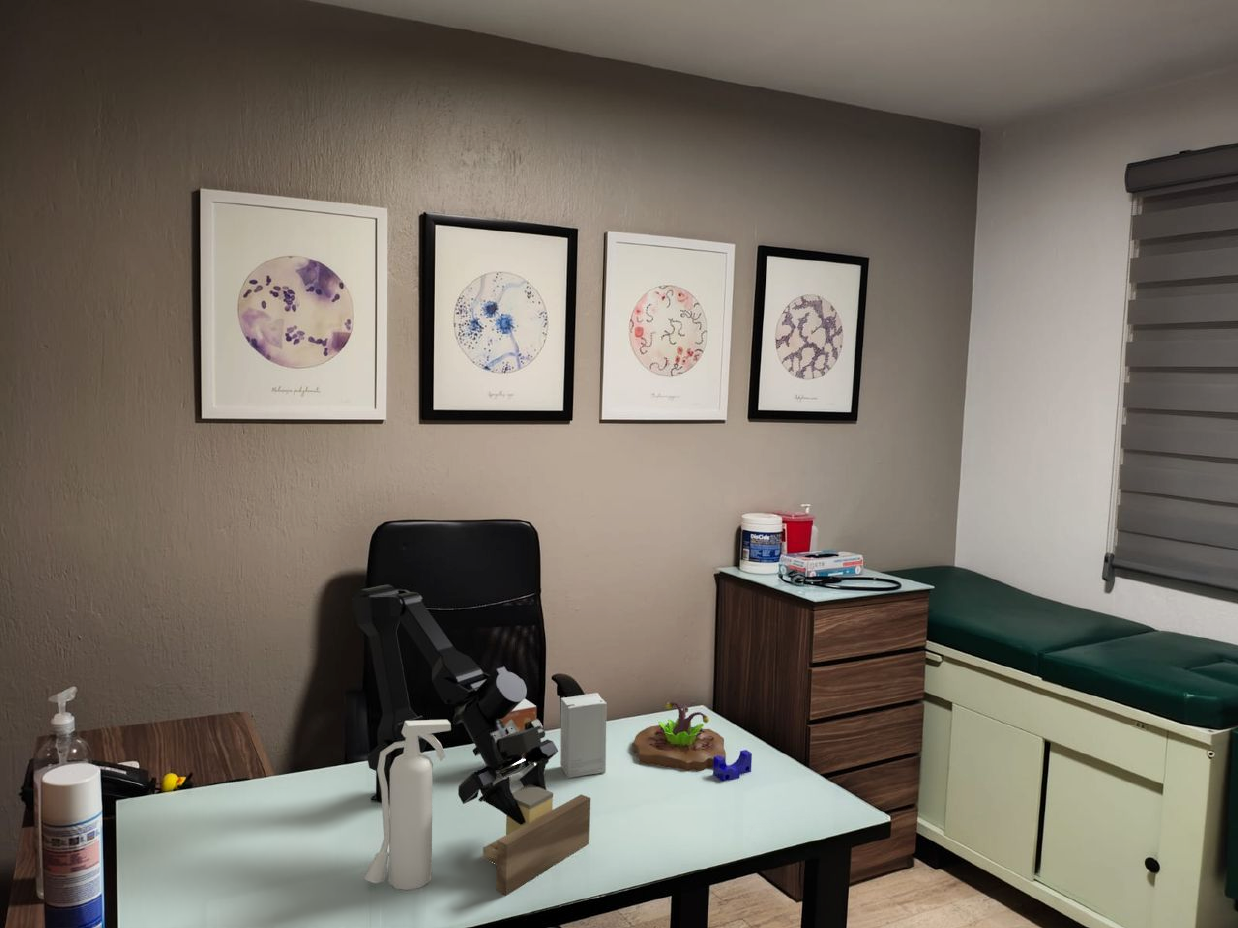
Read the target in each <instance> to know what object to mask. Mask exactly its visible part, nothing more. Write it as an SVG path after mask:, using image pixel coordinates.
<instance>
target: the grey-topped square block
mask: <svg viewBox="0 0 1238 928" xmlns="http://www.w3.org/2000/svg"><path fill="white" fill-rule="evenodd" d="M511 792H512V791H511ZM512 794H513V796H514V798H515V800H516V802H517V804H518V806H519V807H520V809H521V811H522V814H523V816H524V819H525V823H524V824H522V825H520V824H518V823H517V822H516V821H514V820H513V819H511V818H510V817H509V816H507V815H506V814H505V815H506V817H505V818H506V821H505V823H506V824H505V825H506V826H505V835H508V834H510V833H512V832H514V831H515V830H517V829H519V828H521V827H523V826H524V825H526V824H528V823H530V822H532V821H534V820H535V819H537V818H539V817H541V816H543V815H544V814H546V813H548V812H550V811H552V810H553V801H554V799H553V798H554V792H552V791H550V790H547V789H546V790H545V789H542V788H540V787H537V786H535V785H532V784H528V785H526V786H523V787H520V788H518V789H517V790H514V791H513V792H512Z"/></svg>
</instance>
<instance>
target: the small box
mask: <svg viewBox="0 0 1238 928" xmlns="http://www.w3.org/2000/svg"><path fill="white" fill-rule="evenodd" d="M536 719H537V705H535V704H534V703H532V702H531V701H529V700H528V699H526V697H525V698H524V699H523V700H522V701H521V702H520V703H519V704H518V705H517V706H516V707H515V708H514V709H513V710H512V711H511V712H510V713H509V714H508V715H507V716H506V717H505V718H502V719H501V720H502V722H503V723H504V725H505V727H507V726H510V725H511V726H512V727H513V728H514V730H515V731H516V732H518V731H521V730H523V729H525V723H527V722H530V721H532V720H536ZM523 755H524V754H523ZM523 755H522V756H523ZM515 767H516V766H515ZM512 768H513V767H512ZM504 772H505V771H504ZM502 773H503V772H502Z"/></svg>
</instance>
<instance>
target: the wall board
mask: <svg viewBox="0 0 1238 928" xmlns="http://www.w3.org/2000/svg"><path fill="white" fill-rule="evenodd" d="M590 818H591V797H589V796H587V795H584V794H581V793H580V794H579V795H578V796H577V795H576V796H575V797H574V798H572V799H569V801H566V802H565V803H563V804H561V805H559V806H558V807H556V808H553V809H552V811H550V812H548V813H546V814H544V815H543V816H541V817H539V818H537V819H535V820H534V821H532V822H530V823H528V824H526V825H524V826H523V827H521V828H519V829H517V830H515V831H514V832H512V833H510V834H508V835H506V834H505V835H503V836H502V837H500V838H498V839H497V840H495V841H493V842H491V843H488V844H487V845H485V846H483V847H482V859H483V858H484V859H483V860H485V859H486V861H487V860H488V861H487V862H490V861H491V862H490V863H492V862H493V863H492V864H494V863H495V864H494V865H496V864H497V865H496V885H495V886H496V887H495V889H496V890H495V891H496V892H497V893H499V894H502V895H503V896H508V895H509V894H511V893H512V892H514V891H517V890H518V889H519V888H521V887H522V886H524V885H526V884H527V883H528V882H530V881H532V880H533V879H535V878H536V876H537V877H538V876H540V875H542V874H543V873H544V871H545V872H546V871H548V870H549V869H551V868H552V867H554V866H556V865H557V864H559V863H560V862H562V861H564V860H565V859H567V858H568V857H570V856H572V855H573V854H575V853H576V852H578V851H580V850H581V849H582V848H584V847H586V846H587V845H588V844H590V822H591V820H590ZM569 855H570V856H569ZM539 874H540V875H539Z"/></svg>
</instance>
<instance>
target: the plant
mask: <svg viewBox="0 0 1238 928" xmlns="http://www.w3.org/2000/svg"><path fill="white" fill-rule="evenodd" d="M674 706H676V709H677V710H678V718H677V719H676V720H675V722H674V720H671V719H668V720H667V723H665V722H662V721H658V722H657V725H656V724H655V725H650V726H648V727H646V728H645V729H642V730H641V731H639V732H638V733H637V734H636V736H635V738H634V740H633V742H632V743H633V744H632V745H633V746H632V751H633V753H634V754H636V755H637V758H638V763H640V764H644V765H647V766H657V767H662V768H668V769H669V768H670V769H671V768H672V769H679V770H683V771H685V772H688V771H698V772H703V771H704V770H706V769H708V768H709V769H710V768H711V769H713V761H714V756H719V755H720V756H722V757H723V758H725V759H727V753H726V749H725V748H724V746H725V745H724V744H725V739H724V737H723V736H721V735H720V733H718V732H716V731H714V730H712V729H710V728H704V726H705V724H707V723H709V721H710V720H709V717H708V716H707V715H706V714H704V713H703V712H701V711H697V712H693V713H690V715H688V717H686V716H687V715H686V713H688V712H689V707H688V706H687V705H683V706H682V707H681V705H680V703H678V702H676V701H668V702H666V704H665V708H666V710H672V709H673V707H674ZM699 715H700V716H702V722H703V723H699V724H696V725H695V726H692V720H693V719H694V717H696V716H699Z"/></svg>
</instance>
